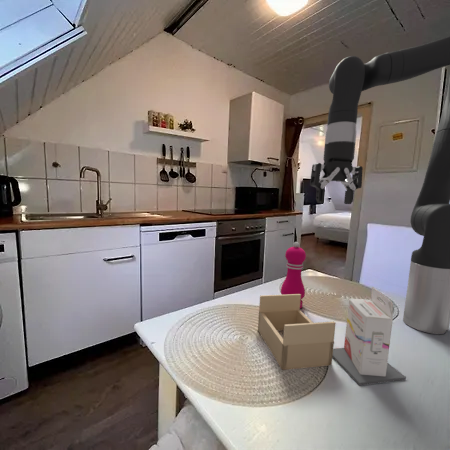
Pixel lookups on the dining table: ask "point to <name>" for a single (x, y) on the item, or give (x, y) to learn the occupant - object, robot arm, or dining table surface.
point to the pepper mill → (294, 272)
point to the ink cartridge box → (369, 333)
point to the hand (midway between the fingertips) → (334, 203)
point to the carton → (294, 333)
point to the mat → (349, 367)
